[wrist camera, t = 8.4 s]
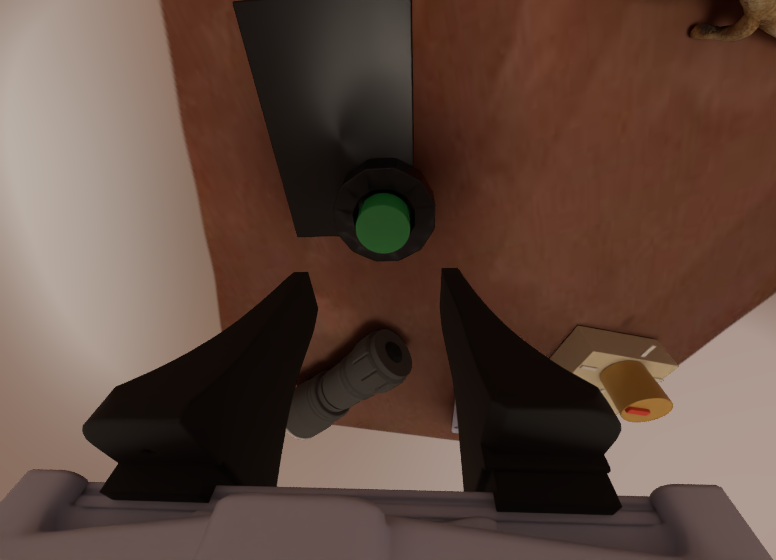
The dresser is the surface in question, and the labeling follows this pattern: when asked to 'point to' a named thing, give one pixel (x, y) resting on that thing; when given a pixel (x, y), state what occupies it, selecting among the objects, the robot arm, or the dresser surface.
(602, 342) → the dial box
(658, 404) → the lock knob
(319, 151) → the box
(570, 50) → the dresser surface
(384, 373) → the flashlight
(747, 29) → the figurine
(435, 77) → the dresser surface
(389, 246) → the release button
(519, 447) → the robot arm
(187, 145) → the dresser surface
